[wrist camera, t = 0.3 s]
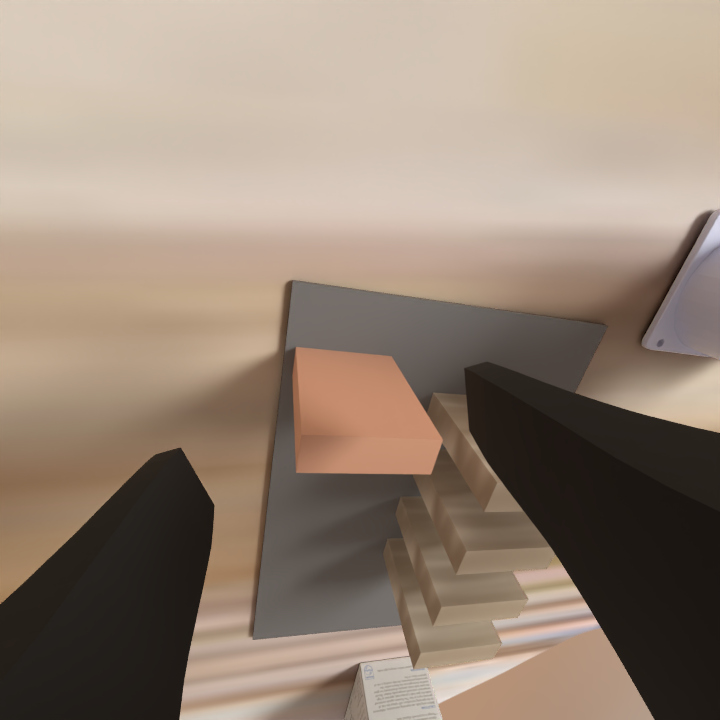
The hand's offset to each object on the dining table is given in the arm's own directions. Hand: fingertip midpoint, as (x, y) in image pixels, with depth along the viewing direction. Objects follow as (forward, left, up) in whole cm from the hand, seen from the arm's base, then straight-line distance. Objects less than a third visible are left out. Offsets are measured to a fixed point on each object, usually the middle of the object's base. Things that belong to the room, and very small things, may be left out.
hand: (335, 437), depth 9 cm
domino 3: (-10, +8, -9) cm, 16 cm away
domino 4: (-10, +12, -9) cm, 18 cm away
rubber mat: (-8, +12, -10) cm, 18 cm away
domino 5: (-10, +16, -9) cm, 21 cm away
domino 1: (-2, +2, -9) cm, 10 cm away
